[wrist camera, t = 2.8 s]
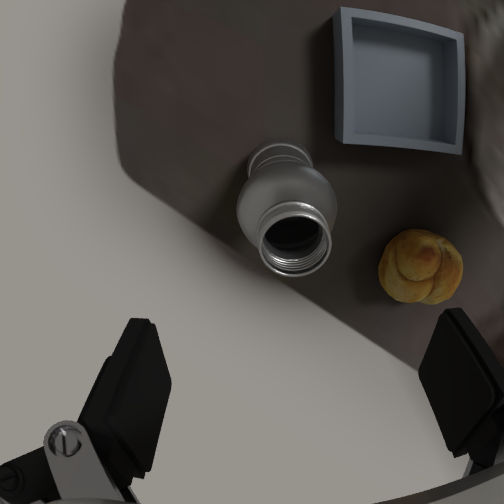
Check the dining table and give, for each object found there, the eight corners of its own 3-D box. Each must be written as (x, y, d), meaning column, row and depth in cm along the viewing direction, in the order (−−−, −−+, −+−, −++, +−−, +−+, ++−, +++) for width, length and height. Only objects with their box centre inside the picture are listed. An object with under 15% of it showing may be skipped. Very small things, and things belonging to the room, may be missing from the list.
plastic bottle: (311, 191, 35) (357, 295, 17) (250, 194, 35) (235, 303, 17) (308, 133, 32) (364, 181, 14) (244, 137, 32) (220, 189, 15)
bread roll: (464, 241, 37) (494, 271, 30) (431, 298, 41) (454, 333, 34) (394, 209, 35) (421, 238, 28) (360, 276, 40) (378, 314, 33)
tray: (332, 16, 25) (340, 6, 22) (445, 37, 25) (463, 33, 21) (334, 138, 32) (343, 143, 28) (444, 148, 31) (461, 155, 28)
